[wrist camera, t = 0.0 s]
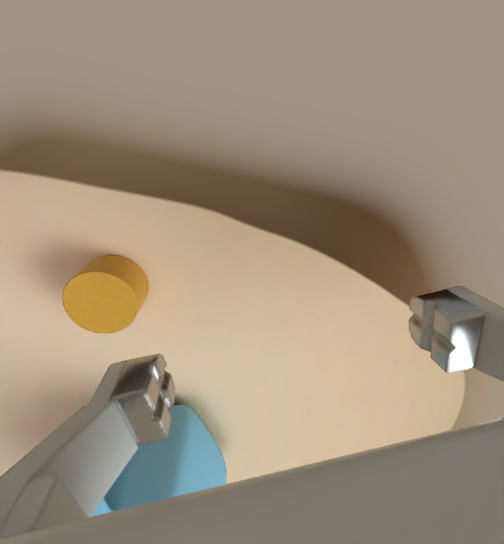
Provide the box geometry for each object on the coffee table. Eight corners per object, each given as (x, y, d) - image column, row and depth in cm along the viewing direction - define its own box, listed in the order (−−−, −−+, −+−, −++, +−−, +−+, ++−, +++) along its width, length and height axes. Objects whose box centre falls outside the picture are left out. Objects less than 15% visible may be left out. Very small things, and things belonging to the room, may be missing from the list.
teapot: (156, 507, 35) (128, 661, 24) (66, 414, 27) (-29, 575, 17) (248, 473, 34) (261, 615, 24) (181, 370, 27) (157, 507, 16)
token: (73, 262, 22) (48, 280, 19) (136, 249, 22) (122, 264, 19) (98, 315, 24) (80, 340, 21) (156, 303, 24) (147, 325, 21)
